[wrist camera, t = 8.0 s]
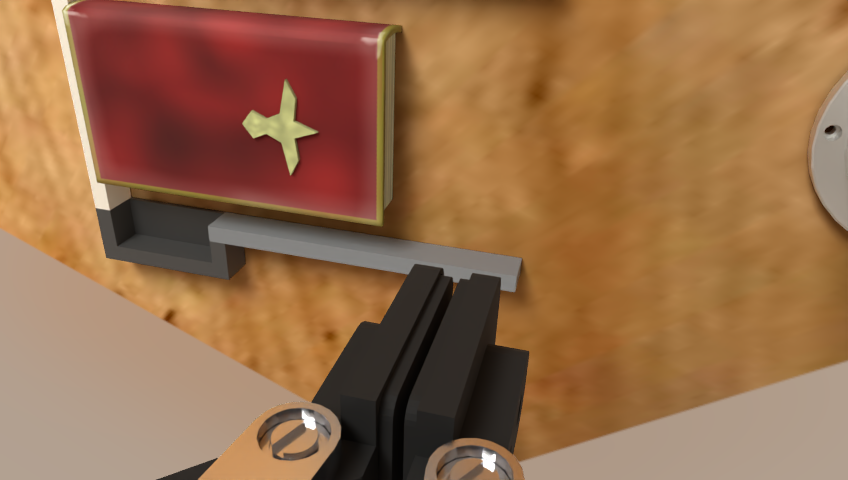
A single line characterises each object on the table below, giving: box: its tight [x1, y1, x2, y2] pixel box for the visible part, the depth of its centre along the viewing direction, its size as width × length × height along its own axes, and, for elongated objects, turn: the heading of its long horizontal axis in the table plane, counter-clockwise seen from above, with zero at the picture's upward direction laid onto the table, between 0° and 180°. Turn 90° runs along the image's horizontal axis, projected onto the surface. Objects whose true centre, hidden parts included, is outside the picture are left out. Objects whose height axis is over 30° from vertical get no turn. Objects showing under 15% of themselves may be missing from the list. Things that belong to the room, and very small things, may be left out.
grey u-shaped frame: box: [52, 0, 522, 292], centre depth 43 cm, size 31×26×2 cm
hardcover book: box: [62, 0, 402, 227], centre depth 43 cm, size 12×21×4 cm, turn 88°
